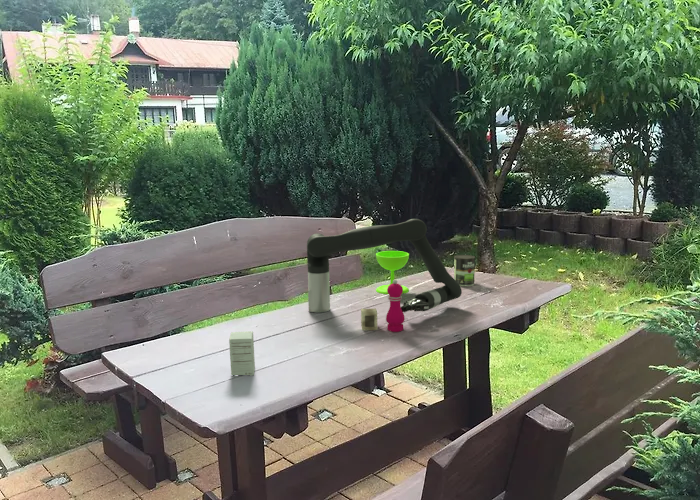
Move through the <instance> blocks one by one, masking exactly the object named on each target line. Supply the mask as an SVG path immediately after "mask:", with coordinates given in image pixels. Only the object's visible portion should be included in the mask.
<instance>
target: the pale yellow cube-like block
mask: <svg viewBox="0 0 700 500" xmlns="http://www.w3.org/2000/svg"><path fill="white" fill-rule="evenodd" d="M360 317H361V319H360V320H361V321H360V324H361V325H360V327H361V331H378V311H377V308H361V309H360Z"/></svg>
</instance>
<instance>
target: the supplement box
mask: <svg viewBox="0 0 700 500" xmlns="http://www.w3.org/2000/svg"><path fill="white" fill-rule="evenodd" d="M254 341H255V340H254V332H253V331H252V330H251V331H231V333H230V336H229V340H228V343H229V358H230V376H231V375H250V376H254V375H255V369H256V365H255V364H256V362H255V346H254Z"/></svg>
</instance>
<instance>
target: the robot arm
mask: <svg viewBox="0 0 700 500" xmlns="http://www.w3.org/2000/svg"><path fill="white" fill-rule="evenodd" d="M427 230H428V229H427V225H426V223H425V222H424V221H423V220H421V219H419V218H411V219H408V220H406V221H403V222H400V223H395V224H380V225H369V226H362V227H358V228H354V229H351V230H348V231H346V232H343V233H341V234H337V235H335V234H334V235H324V234H322V233H313V234H311V236H309V238H308V239H307V241H306V257H307V258H306V262H307V288H308V289H307V293H308V294H307V296H308V297H307V298H308V299H307V300H308V301H307V303H308V313H310V312H312V313H326V312H329V311H330V309H331V298H330V297H331V294H330V261H329V260H330V258H329V256H330V255H332V254H337V253H341V252H351V251H359V250H365V249H371V248H377V247H381V246H385V245H389V244H392V243H396V242H407V241H409V242H410V243H411V244H412V245H413V247H414V249H415V250H416V251H417V253H418V254H419V256H420V258H421V260H422V262H423V264H424V266H425V267H426V269H427V271H428V273H429V274H430V275H429V276H431V278H432V280H433V282H434V283H436V284H439V283H440V284H444V285H442V286H439V287H437V288H434V289H433V288H432V289H429V290H426V291H422V292H420V293H418V294H416V295H415V297H414V298H412V299H409V300H408V299H406V298H403V299H402V305H400V306H401V309H402V312H403V313H406V312H410V311H414V312H426V311H427V312H428V311H429V310H432V309H433V308H434V309H435V308H436V307H438V306H441V305H442V304H445V303H447V302H450V301H453V300H456V299H458V298H460V297H461V296H462V291H463V290H462V286H460V285H459V284H458V283H457V282H456V280H455V279H454V276H452V275H451V274H450V273H449V272H448V270H447V268H446V267H445V265H444V263H443V262H442V260H441V258H440V256H438V254H437V252H436V251H435V250H434V248H433V247H432V245H431V244H430V242H429V240H428V239H427V236H426V234H427V232H428V231H427Z"/></svg>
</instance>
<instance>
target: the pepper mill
mask: <svg viewBox="0 0 700 500" xmlns="http://www.w3.org/2000/svg"><path fill="white" fill-rule="evenodd" d="M389 284H390V283H389ZM389 284H388V285H389ZM402 286H403V285H402ZM402 286H401V284H400V283H398V280H397V279H394V280H393V284H390V285H389V286H388V289H387V292H388V294H389V295H388V300H389V308H388V310H387V313H386V316H385V321H386V323H388V324H387V326H386V328H387V331H388V332H393V333H399V332H402V331H404V324H403V323H404V322H405V320H406V318H405V314H404V312H402V309H401V306H402V305H401V300H403V299H402V297H403V296H402V295H403V294H402V292H403V288H402Z"/></svg>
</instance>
